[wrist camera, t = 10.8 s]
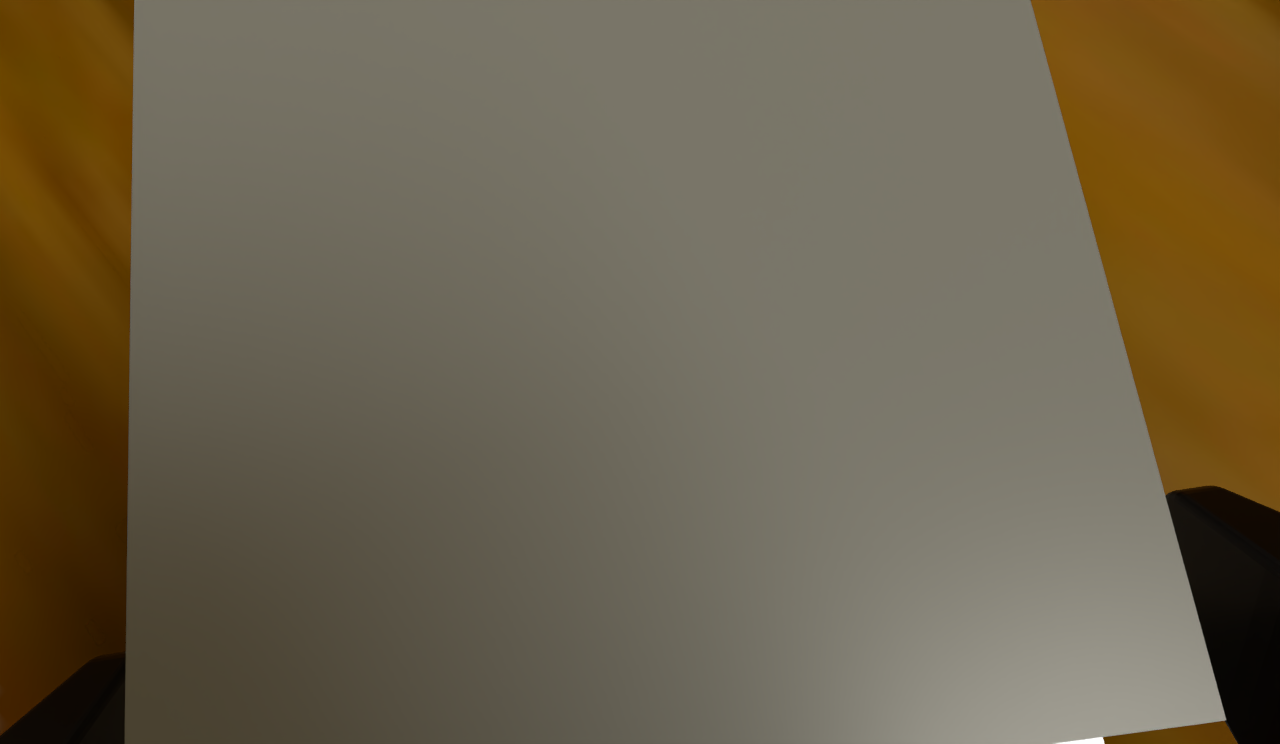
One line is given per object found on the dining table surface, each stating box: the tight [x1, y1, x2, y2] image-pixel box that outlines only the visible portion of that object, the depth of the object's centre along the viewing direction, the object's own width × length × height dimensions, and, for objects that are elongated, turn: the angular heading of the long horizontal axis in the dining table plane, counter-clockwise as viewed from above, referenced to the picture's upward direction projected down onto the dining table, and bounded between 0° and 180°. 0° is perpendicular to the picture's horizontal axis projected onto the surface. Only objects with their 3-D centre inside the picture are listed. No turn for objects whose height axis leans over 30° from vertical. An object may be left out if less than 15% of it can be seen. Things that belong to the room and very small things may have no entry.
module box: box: [125, 0, 1226, 744], centre depth 12 cm, size 6×6×13 cm
